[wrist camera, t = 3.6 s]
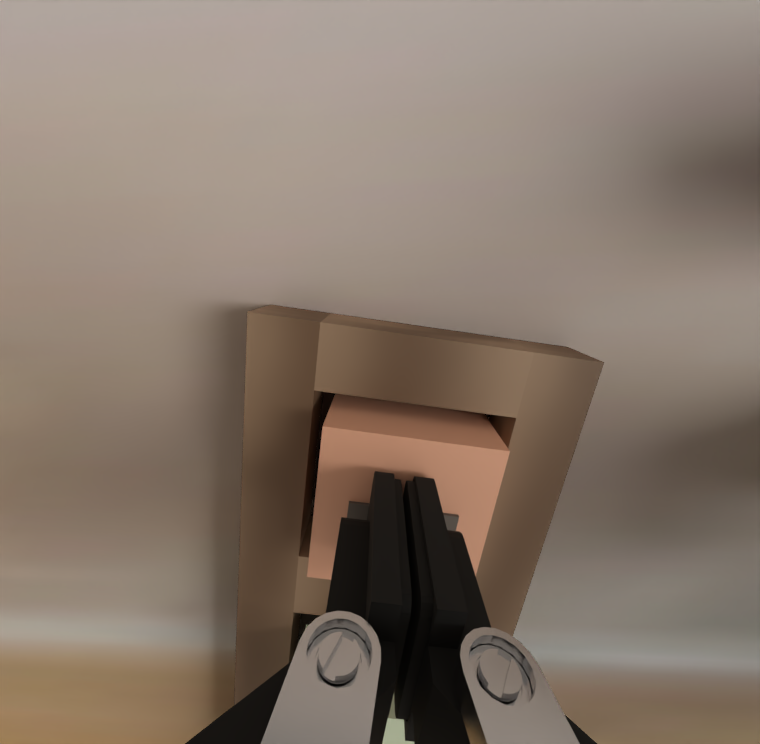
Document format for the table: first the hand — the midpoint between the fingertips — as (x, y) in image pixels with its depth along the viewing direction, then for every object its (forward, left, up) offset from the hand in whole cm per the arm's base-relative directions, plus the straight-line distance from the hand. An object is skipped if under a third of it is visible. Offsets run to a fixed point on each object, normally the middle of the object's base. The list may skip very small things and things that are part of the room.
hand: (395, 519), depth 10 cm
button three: (0, 0, -3) cm, 3 cm away
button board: (0, +9, -3) cm, 9 cm away
